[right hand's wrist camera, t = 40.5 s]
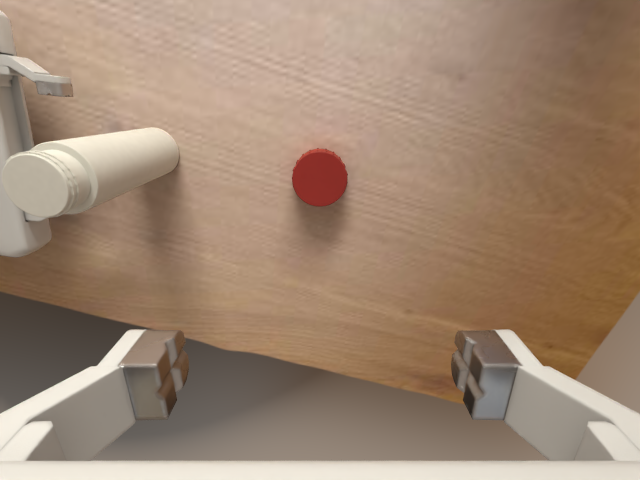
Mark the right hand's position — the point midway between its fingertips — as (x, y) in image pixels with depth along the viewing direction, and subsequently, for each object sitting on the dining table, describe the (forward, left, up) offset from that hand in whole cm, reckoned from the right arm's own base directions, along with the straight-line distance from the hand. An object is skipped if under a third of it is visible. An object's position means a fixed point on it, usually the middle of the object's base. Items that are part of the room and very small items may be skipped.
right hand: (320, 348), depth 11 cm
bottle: (+15, -5, -27) cm, 31 cm away
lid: (0, 0, -25) cm, 25 cm away
